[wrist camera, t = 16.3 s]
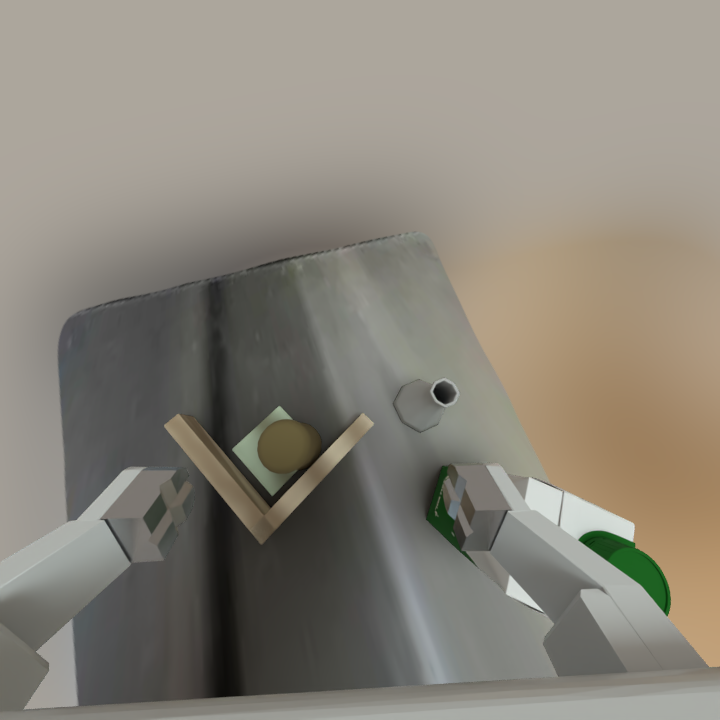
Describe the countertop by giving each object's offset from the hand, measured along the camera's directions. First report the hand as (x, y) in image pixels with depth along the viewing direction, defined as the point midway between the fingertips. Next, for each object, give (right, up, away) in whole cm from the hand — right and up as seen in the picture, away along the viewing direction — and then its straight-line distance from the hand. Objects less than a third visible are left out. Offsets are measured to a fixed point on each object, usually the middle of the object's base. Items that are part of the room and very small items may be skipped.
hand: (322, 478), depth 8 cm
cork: (-7, -8, +27) cm, 29 cm away
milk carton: (+14, -15, +26) cm, 34 cm away
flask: (+10, -3, +30) cm, 32 cm away
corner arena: (-10, -5, +28) cm, 30 cm away
